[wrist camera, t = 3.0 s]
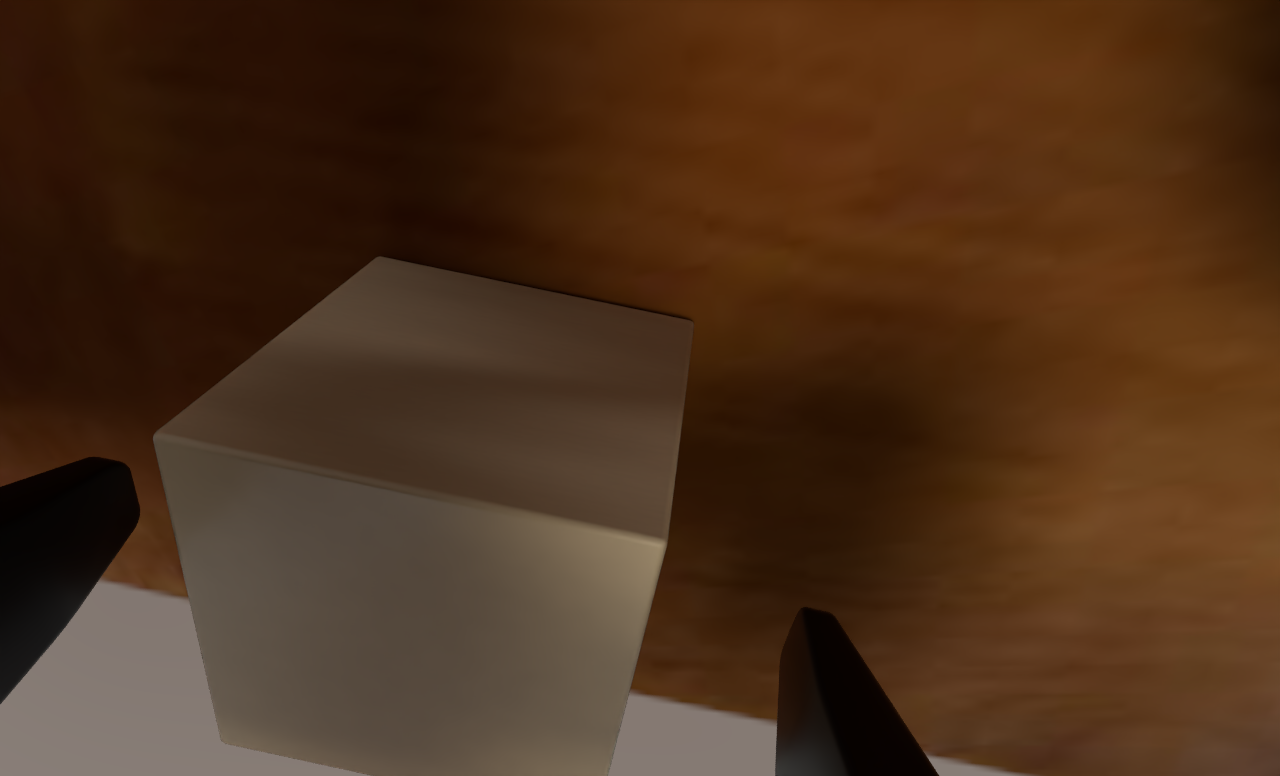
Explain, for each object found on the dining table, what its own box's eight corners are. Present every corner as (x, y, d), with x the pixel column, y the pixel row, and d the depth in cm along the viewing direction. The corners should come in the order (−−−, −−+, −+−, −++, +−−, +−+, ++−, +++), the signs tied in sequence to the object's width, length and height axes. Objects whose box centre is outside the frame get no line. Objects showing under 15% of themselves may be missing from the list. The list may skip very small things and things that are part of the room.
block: (695, 320, 11) (667, 543, 7) (641, 555, 14) (595, 827, 9) (377, 254, 11) (147, 434, 7) (383, 501, 14) (218, 745, 9)
